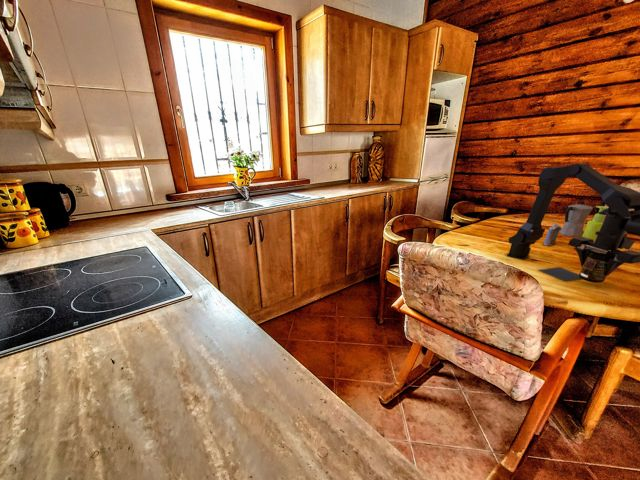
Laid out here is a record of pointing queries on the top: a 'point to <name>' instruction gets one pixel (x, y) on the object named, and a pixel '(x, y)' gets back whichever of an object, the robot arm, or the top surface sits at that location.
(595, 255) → the supplement container
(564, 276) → the mat
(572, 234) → the coffeepot
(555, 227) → the flask
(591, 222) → the soap dispenser
